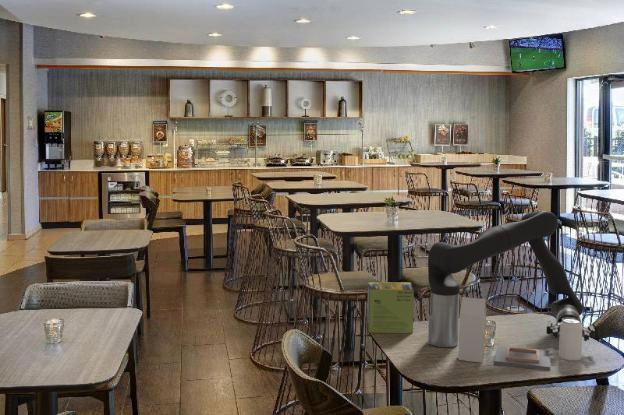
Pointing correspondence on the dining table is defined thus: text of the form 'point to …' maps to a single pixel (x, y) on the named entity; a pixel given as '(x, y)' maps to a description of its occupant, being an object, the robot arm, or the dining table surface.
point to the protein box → (390, 307)
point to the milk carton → (472, 329)
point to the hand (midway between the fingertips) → (571, 336)
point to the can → (570, 339)
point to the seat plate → (522, 357)
